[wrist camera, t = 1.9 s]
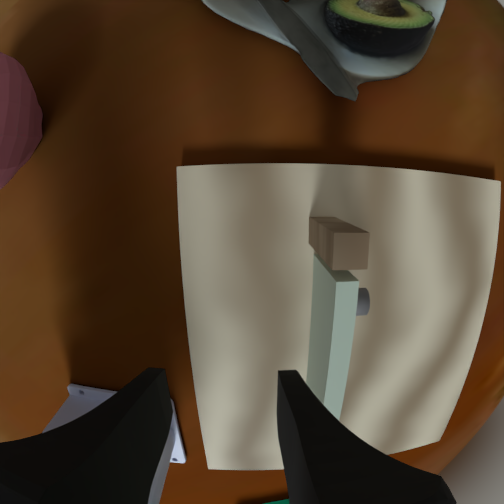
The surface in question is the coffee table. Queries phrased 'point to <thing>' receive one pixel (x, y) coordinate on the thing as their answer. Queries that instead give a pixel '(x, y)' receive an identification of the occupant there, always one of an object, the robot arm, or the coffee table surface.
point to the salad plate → (343, 34)
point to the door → (332, 331)
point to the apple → (17, 118)
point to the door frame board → (300, 294)
